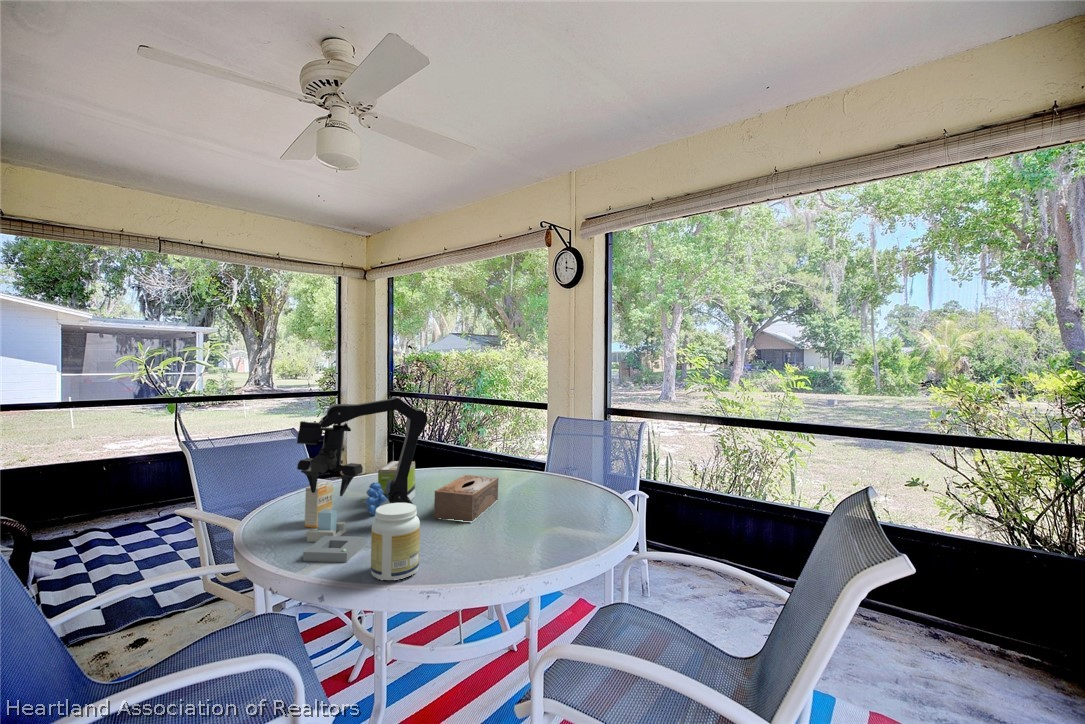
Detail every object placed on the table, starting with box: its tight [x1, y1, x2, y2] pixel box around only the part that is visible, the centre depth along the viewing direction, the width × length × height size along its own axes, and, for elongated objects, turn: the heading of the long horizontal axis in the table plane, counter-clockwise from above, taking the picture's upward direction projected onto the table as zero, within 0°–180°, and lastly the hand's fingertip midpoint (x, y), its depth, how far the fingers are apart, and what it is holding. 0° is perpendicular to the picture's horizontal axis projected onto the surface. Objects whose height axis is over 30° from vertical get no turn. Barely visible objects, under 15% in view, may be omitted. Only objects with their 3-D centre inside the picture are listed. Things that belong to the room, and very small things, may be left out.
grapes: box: [365, 482, 387, 516], centre depth 168 cm, size 12×7×12 cm, turn 178°
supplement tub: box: [370, 503, 421, 581], centre depth 124 cm, size 12×12×17 cm
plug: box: [317, 508, 338, 530], centre depth 147 cm, size 4×4×8 cm
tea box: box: [377, 460, 416, 506], centre depth 184 cm, size 15×10×15 cm
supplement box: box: [304, 481, 334, 529], centre depth 159 cm, size 8×5×13 cm, turn 168°
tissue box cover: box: [433, 474, 499, 521], centre depth 177 cm, size 26×14×10 cm, turn 165°
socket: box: [302, 535, 365, 563], centre depth 135 cm, size 12×12×3 cm
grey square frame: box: [306, 521, 347, 543], centre depth 147 cm, size 8×9×3 cm
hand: (327, 494), depth 148 cm, fingers open, 9 cm apart
